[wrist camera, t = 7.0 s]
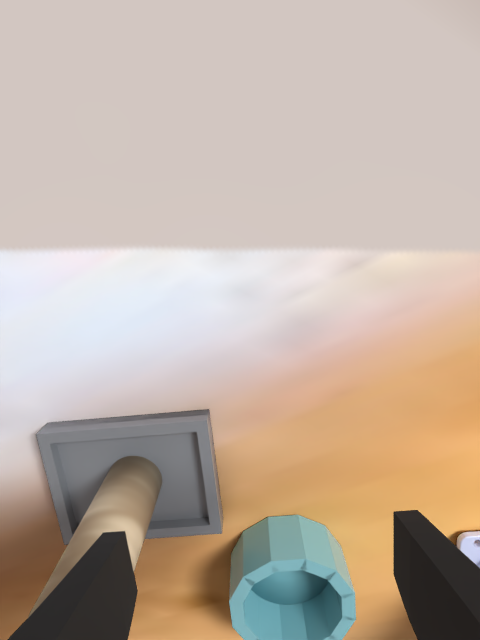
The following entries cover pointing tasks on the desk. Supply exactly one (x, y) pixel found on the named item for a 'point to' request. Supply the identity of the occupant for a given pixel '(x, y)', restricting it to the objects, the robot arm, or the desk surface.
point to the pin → (113, 514)
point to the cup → (290, 582)
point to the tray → (145, 441)
